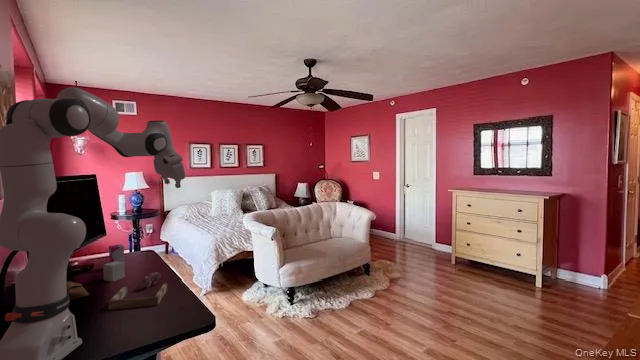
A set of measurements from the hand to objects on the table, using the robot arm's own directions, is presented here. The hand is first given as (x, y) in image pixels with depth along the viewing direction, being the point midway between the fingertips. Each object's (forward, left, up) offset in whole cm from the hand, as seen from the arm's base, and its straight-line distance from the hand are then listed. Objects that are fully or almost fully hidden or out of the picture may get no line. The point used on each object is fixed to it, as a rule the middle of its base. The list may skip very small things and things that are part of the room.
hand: (172, 185), depth 150 cm
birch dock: (-22, +9, -43) cm, 49 cm away
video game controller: (-7, +9, -43) cm, 45 cm away
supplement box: (+25, +33, -43) cm, 60 cm away
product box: (+7, +28, -43) cm, 52 cm away
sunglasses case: (-7, +38, -44) cm, 58 cm away
